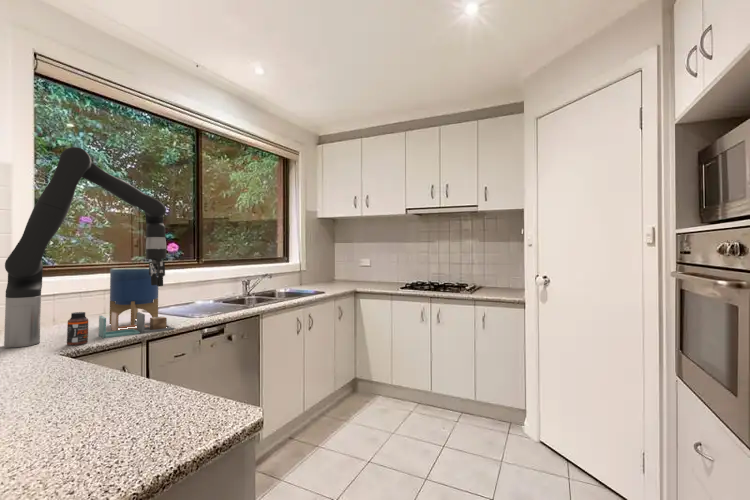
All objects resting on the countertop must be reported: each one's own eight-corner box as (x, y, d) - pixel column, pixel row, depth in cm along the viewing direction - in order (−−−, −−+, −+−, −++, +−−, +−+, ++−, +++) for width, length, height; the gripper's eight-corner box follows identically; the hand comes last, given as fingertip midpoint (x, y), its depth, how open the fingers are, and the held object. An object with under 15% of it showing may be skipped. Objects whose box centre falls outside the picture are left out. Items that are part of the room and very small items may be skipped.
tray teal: (103, 339, 140) (103, 318, 140) (98, 335, 146) (99, 315, 147) (139, 334, 149) (139, 314, 149) (133, 331, 155) (134, 312, 155)
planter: (106, 329, 161) (107, 269, 161) (112, 322, 177) (113, 268, 178) (157, 325, 170) (157, 268, 170) (158, 319, 187) (159, 267, 187)
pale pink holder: (115, 333, 152) (116, 313, 152) (111, 330, 158) (111, 311, 158) (148, 329, 160) (149, 310, 161) (143, 326, 167) (143, 308, 167)
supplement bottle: (78, 345, 130) (79, 313, 130) (62, 345, 130) (62, 313, 130) (92, 342, 136) (92, 311, 136) (76, 342, 136) (77, 311, 136)
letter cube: (153, 331, 154) (153, 318, 154) (149, 329, 158) (150, 317, 158) (166, 329, 158) (166, 317, 158) (162, 327, 161) (162, 315, 161)
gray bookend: (142, 334, 149) (142, 314, 150) (136, 331, 156) (136, 312, 156) (174, 330, 158) (174, 311, 158) (167, 327, 164) (167, 309, 165)
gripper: (141, 248, 160) (142, 285, 160) (151, 247, 150) (151, 287, 150) (161, 248, 165) (161, 284, 165) (171, 247, 155) (172, 285, 155)
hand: (157, 285), depth 157 cm, fingers open, 8 cm apart
